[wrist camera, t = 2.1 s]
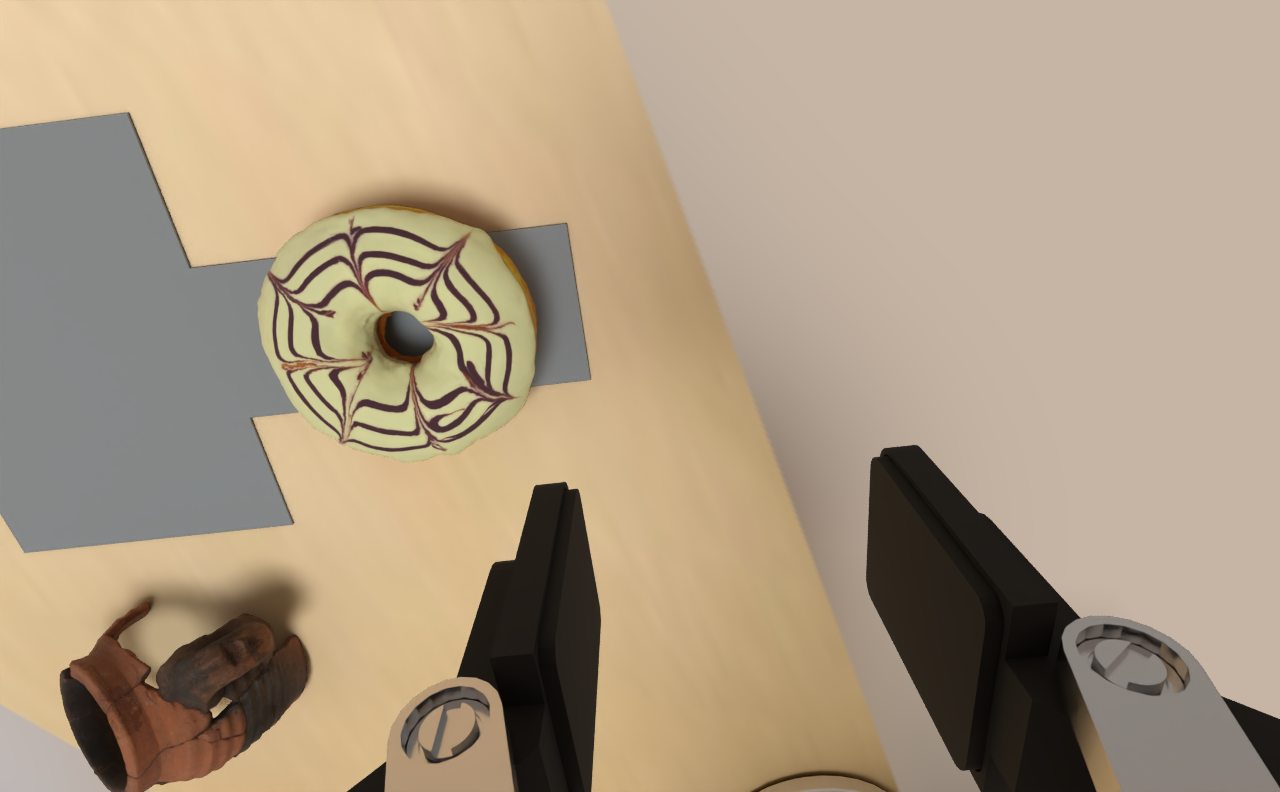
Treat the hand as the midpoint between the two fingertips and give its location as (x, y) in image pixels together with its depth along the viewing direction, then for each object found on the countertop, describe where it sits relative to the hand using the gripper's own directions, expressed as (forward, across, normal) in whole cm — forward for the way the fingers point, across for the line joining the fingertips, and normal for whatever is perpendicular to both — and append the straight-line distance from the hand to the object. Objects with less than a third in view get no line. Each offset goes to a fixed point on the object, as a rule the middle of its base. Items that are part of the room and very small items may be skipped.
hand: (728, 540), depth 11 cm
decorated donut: (+18, +11, 0) cm, 21 cm away
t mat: (+17, +19, 0) cm, 26 cm away
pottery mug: (+18, +26, +17) cm, 36 cm away
